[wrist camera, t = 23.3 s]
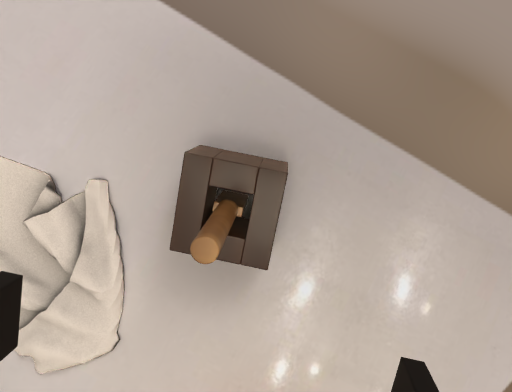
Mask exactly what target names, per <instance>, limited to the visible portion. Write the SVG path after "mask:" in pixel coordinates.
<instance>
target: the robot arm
mask: <svg viewBox="0 0 512 392" xmlns="http://www.w3.org/2000/svg"><path fill="white" fill-rule="evenodd" d="M22 283H23V275H19V274H15V273H10V272H5V271H1V272H0V361H1V360H2V359H3V358H5V357H6V356H7V355H8V354H9V353H10V352H11V351H13V350H14V349H15V348H16V347H17V346H18V335H19V322H20V309H21V296H22ZM391 392H439V390H438V388H437V386H436V384H435V382H434V380H433V378H432V376H431V374H430V372H429V370H428V369H427V367H426V365H425V363H424V362H422V361H417V360H413V359H408V358H404V357H401V359H400V363H399V366H398V370H397V373H396V377H395V380H394V383H393V387H392V390H391Z"/></svg>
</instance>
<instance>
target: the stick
mask: <svg viewBox="0 0 512 392" xmlns="http://www.w3.org/2000/svg"><path fill="white" fill-rule="evenodd" d="M248 196H249V195H246V194H241V193H236V192H231V191H226V190H223V191H222V192H221V193H220V195H219V196H218V197H217V199H216V200H215V201H214V204H213V210H212V211H213V213H212V214H211V216H210V217H209V219H208V220H207V221H206V223H205V224H204V226H203V227H202V229H201V230H200V232H199V233H198V235H197V236H196V237H195V239H194V240H193V242H192V244H191V247H190V252H191V255H192V257H193V258H194V259H195V260H196V261H197V262H199V263H202V264H209V263H212V262H213V261H215V260H216V259H217V257H218V255H219V253H220V251H221V249H222V246H223V244H224V242H225V240H226V238H227V235H228V233H229V231H230V229H231V227H232V225H233V222H234V220H235V218H236V216H238V217H242V214H243V212H244V209H245V207H246V205H247V201H248Z"/></svg>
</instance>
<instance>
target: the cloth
mask: <svg viewBox="0 0 512 392" xmlns="http://www.w3.org/2000/svg"><path fill="white" fill-rule="evenodd" d="M120 252H121V246H120V239H119V236H118V234H117V231H116V221H115V214H114V211H113V208H112V206H111V204H110V202H109V195H108V184H107V181H104V180H89V181H88V183H87V185H86V186H85V191H84V192H82V193H79V194H77V195H75V196H73V197H71V198H70V199H68V200H67V201H65V202H64V203H62V200H61V196H60V195H58V194H57V193H55V185H54V183H53V181H52V179H51V177H50V175H48V174H46V173H44V172H42V171H39V170H37V169H34V168H31V167H29V166H26V165H23V164H20V163H17V162H14V161H12V160H9V159H6V158H3V157H0V272H1V271H5V272H10V273H15V274H19V275H23V283H22V296H21V309H20V322H19V335H18V346H17V347H16V348H15V351H16V352H17V353H18V354H20V355H21V356H31V357H32V358H33V360H34V361H35V370H36V371H37V372H38V373H40V374H43V373H46V372H50V371H54V370H62V369H65V368H68V367H72V366H75V365H79V364H83V363H85V362H87V361H89V360H92V359H94V358H97V357H100V356H102V355H103V354H105V353H108V352H110V351H112V350H113V349H114V347H115V346H116V344H117V343H118V342H119V340H120V339H119V337H118V335H117V333H116V332H117V329H118V326H119V321H120V317H121V314H122V309H123V294H124V281H123V263H122V260H121V257H120Z"/></svg>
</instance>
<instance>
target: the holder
mask: <svg viewBox="0 0 512 392" xmlns="http://www.w3.org/2000/svg"><path fill="white" fill-rule="evenodd" d="M287 175H288V162H283V161H278V160H273V159H268V158H264V159H263V157H258V156H253V155H248V154H243V153H238V152H233V151H228V150H223V149H218V148H213V147H208V146H203V145H199V146H197V147H195V148H193V149H191V150H189V151H187V152H185V154H184V160H183V166H182V173H181V179H180V186H179V192H178V198H177V205H176V211H175V218H174V224H173V231H172V237H171V243H170V250H172V251H177V252H182V253H186V254H191V252H190V247H191V244H192V242H193V240H194V239H195V237H196V236H197V235H198V233H199V232H200V230H201V229H202V227H203V226H204V224H205V223H206V221H207V220H208V219H209V217H210V216H211V214H212V213H213V211H212V210H213V204H214V201H215V199H216V193H217V187H218V188H223V189H228V190H233V191H238V192H243V193H248V194H254V197H253V203H252V208H251V213H250V218H249V219H247V218H242V217H237V216H236V218H235V220H234V222H233V225H232V227H231V229H230V231H229V233H228V235H227V238H226V240H225V242H224V244H223V246H222V249H221V251H220V253H219V255H218V257H217V259H216V260H221V261H226V262H230V263H235V264H241V265H245V266H249V267H254V268H259V269H264V270H268V265H269V261H270V256H271V251H272V246H273V242H274V237H275V232H276V227H277V223H278V218H279V213H280V208H281V203H282V199H283V194H284V189H285V184H286V180H287Z"/></svg>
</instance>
